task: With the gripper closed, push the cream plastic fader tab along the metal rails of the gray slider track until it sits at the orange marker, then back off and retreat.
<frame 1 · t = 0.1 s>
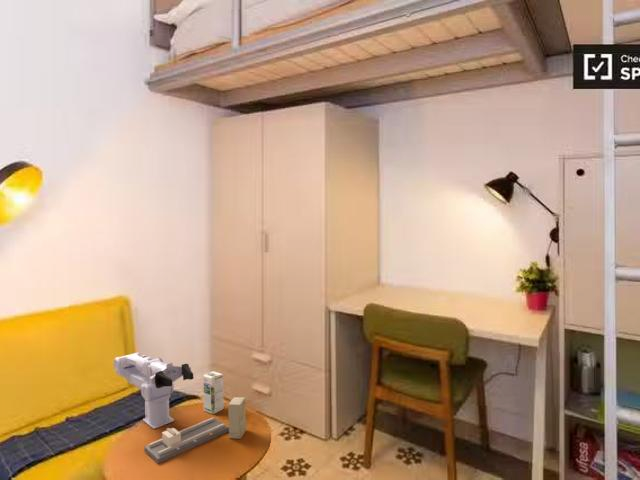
hand: (181, 379, 140), 22 cm above the table, tool horizontal, fingers open, 7 cm apart
skincare box: (237, 434, 146), on the table
fader tab: (171, 436, 137), point 4 cm above the table, slide at -6.0 cm
gray slider track: (188, 440, 142), on the table
syrup box: (214, 410, 164), on the table
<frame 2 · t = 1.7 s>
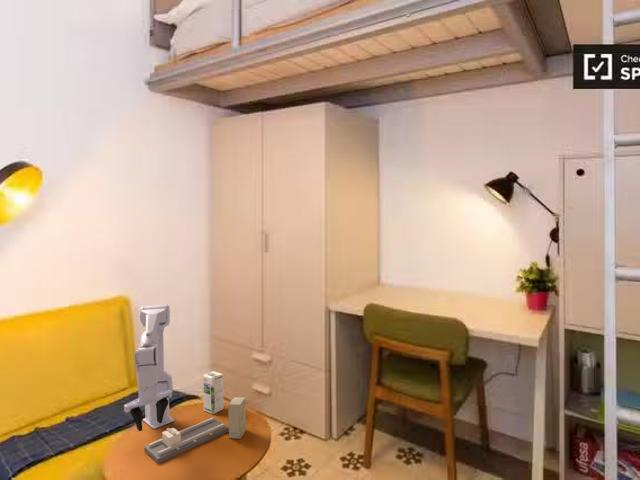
hand: (149, 425, 132), 10 cm above the table, tool pointing down, fingers open, 6 cm apart
nothing on the table moved.
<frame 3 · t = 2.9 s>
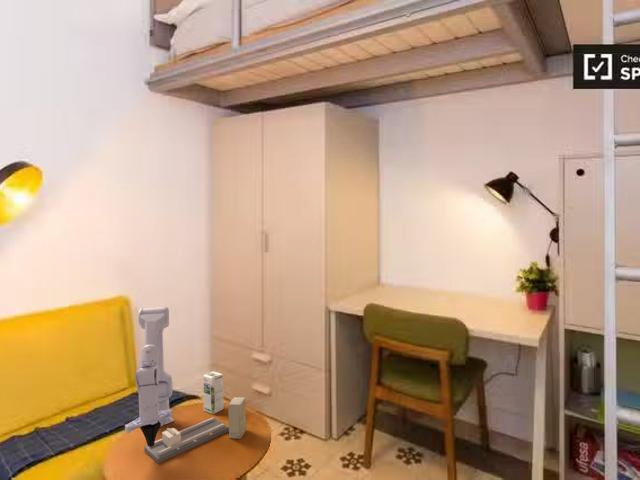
hand: (150, 445, 132), 4 cm above the table, tool pointing down, fingers closed
nothing on the table moved.
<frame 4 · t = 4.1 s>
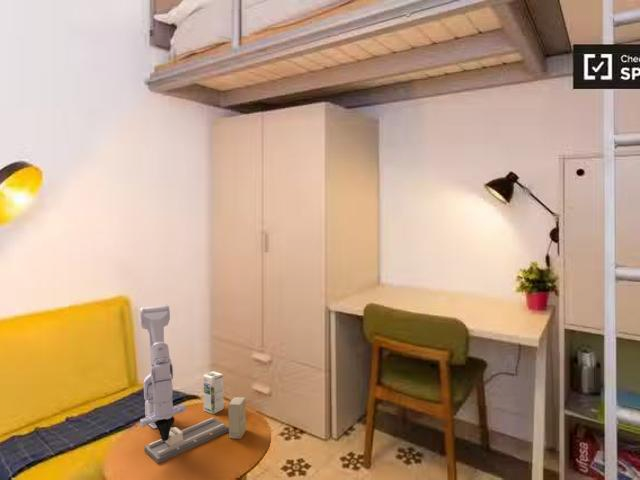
hand: (164, 439, 136), 4 cm above the table, tool pointing down, fingers closed
fader tab: (173, 435, 138), point 4 cm above the table, slide at -5.3 cm, touching gripper
everything else where it was.
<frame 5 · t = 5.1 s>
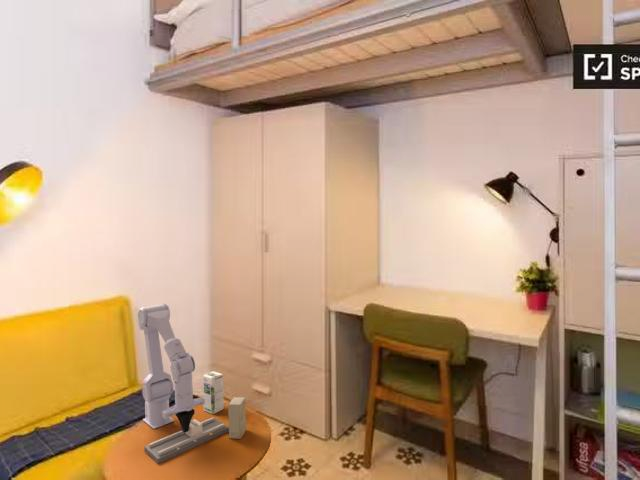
hand: (185, 430, 141), 4 cm above the table, tool pointing down, fingers closed
fader tab: (193, 427, 143), point 4 cm above the table, slide at 2.0 cm, touching gripper
everything else where it was.
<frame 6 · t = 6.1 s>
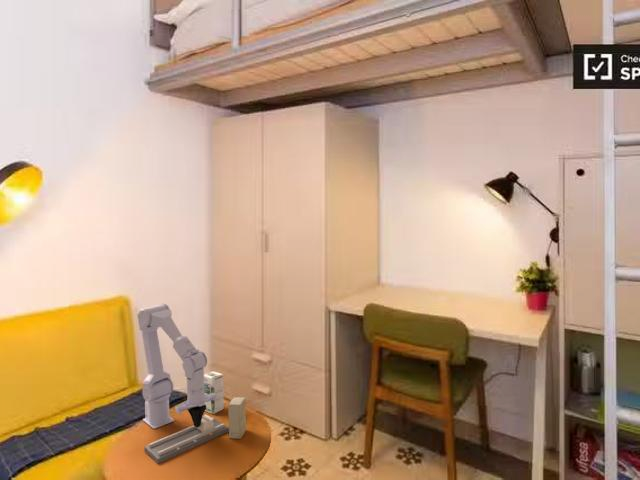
hand: (197, 425, 144), 4 cm above the table, tool pointing down, fingers closed
fader tab: (204, 422, 146), point 4 cm above the table, slide at 6.5 cm, touching gripper
everything else where it was.
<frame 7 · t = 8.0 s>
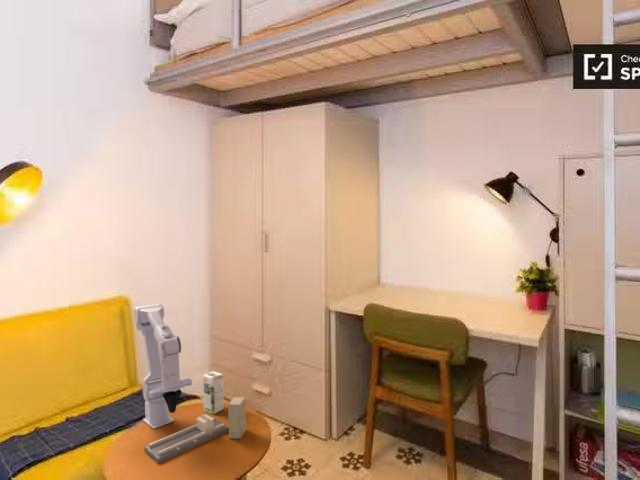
hand: (172, 411, 141), 10 cm above the table, tool pointing down, fingers closed
fader tab: (205, 422, 146), point 4 cm above the table, slide at 6.5 cm
everything else where it was.
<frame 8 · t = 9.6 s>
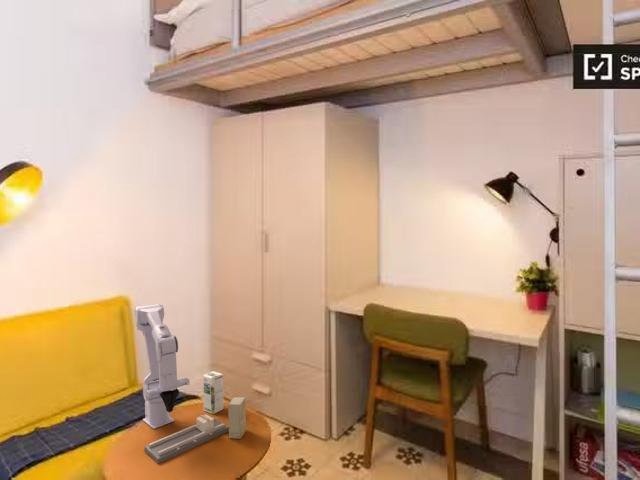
hand: (169, 410, 142), 10 cm above the table, tool pointing down, fingers closed
nothing on the table moved.
at the end: fader tab slide at 6.5 cm; skincare box moved 0.2 cm from its start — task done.
